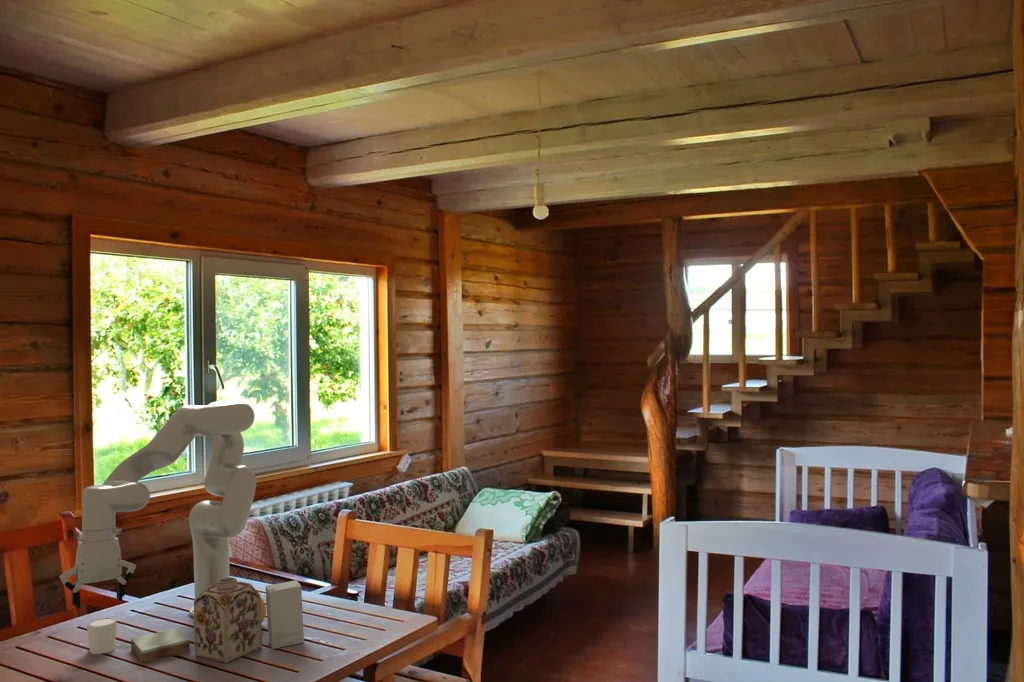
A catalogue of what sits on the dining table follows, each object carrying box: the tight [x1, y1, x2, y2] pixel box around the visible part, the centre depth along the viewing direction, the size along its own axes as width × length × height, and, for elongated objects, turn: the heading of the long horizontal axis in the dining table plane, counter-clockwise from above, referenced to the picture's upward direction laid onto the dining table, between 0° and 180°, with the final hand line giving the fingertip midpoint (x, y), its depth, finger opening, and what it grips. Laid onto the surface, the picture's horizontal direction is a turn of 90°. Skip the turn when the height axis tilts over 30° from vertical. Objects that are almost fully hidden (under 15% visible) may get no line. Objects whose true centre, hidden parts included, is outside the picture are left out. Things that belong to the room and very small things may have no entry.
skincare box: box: [265, 579, 305, 650], centre depth 208 cm, size 8×6×15 cm
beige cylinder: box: [86, 617, 118, 655], centre depth 206 cm, size 7×7×7 cm
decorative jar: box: [193, 577, 263, 664], centre depth 203 cm, size 12×12×18 cm
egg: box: [260, 596, 267, 624], centre depth 220 cm, size 7×7×9 cm
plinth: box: [130, 627, 191, 664], centre depth 204 cm, size 11×11×3 cm
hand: (98, 603), depth 206 cm, fingers open, 9 cm apart
